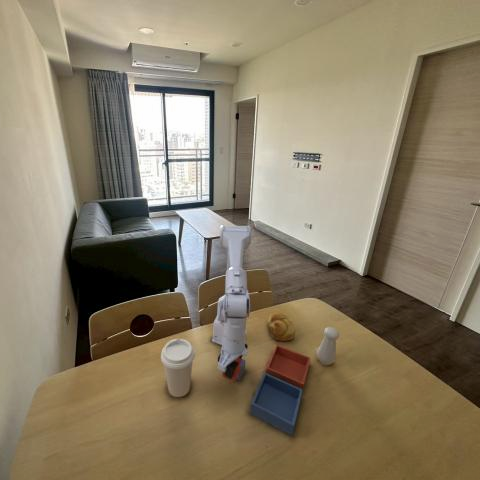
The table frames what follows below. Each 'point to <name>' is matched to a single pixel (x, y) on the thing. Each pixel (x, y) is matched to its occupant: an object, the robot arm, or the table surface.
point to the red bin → (288, 366)
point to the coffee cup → (178, 366)
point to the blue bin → (277, 403)
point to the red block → (235, 371)
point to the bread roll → (281, 327)
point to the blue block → (241, 369)
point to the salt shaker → (328, 347)
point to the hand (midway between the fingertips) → (231, 370)
